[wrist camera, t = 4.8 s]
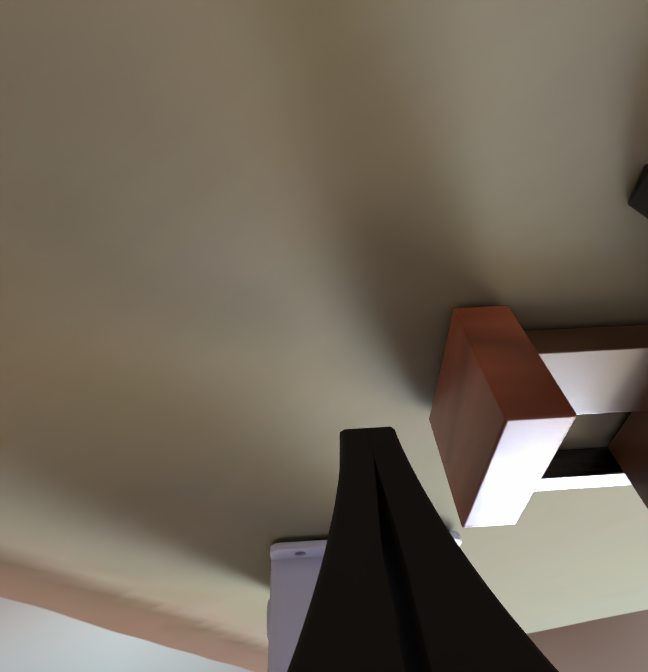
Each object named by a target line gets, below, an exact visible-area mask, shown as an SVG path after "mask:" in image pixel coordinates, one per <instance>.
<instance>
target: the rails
mask: <svg viewBox="0 0 648 672" xmlns="http://www.w3.org/2000/svg"><path fill="white" fill-rule="evenodd" d="M628 205H629V206H631V207H632V208H634V209H635V210H636V211H638V212H639V213H641V214H642V215H643V216H645V217H646V218H648V164H646V165H645V167H644V169H643V171H642V173H641V175H640V177H639V180H638V182H637V184H636V186H635V188H634V190H633V193H632V195H631V197H630V199H629V201H628ZM622 485H632V484H631V482H630V481H629V479H628V478H627V476H626V475H625V473H624V472H623V470H622V469H621V467H620V465H619V464H618V462H617V461H616V459H615V458H614V456H613V455H612V453H611V452H610V450H609V449H608V448H593V449H577V450H561V451H557V452H556V454H555V455H554V457H553V459H552V461H551V462H550V464H549V466H548V468H547V470H546V471H545V473H544V475H543V477H542V478H541V480H540V482H539V484H538V485H537V487H536V489H535V491H545V490H560V489H576V488H591V487H607V486H622Z"/></svg>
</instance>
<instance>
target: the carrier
mask: <svg viewBox="0 0 648 672" xmlns="http://www.w3.org/2000/svg"><path fill="white" fill-rule="evenodd" d="M616 412H632V413H631V414H630V416H629V417H628V419H627V420H626V421H625V423H624V424H623V426H622V427H621V429H620V430H619V432H618V433H617V434H616V436H615V437H614V439H613V440H612V442H611V443H610V445H609V446H608V449H609V450H610V452H611V453H612V455H613V456H614V458H615V459H616V461H617V462H618V464H619V465H620V467H621V469H622V470H623V472H624V473H625V475H626V476H627V478H628V479H629V481H630V482H631V484H632V485H633V487H634V488H635V490H636V491H637V493H638V495H639V496H640V498H641V499H642V501H643V502H644V504H645V505H646V507H647V508H648V325H631V326H612V327H593V328H574V329H554V330H535V331H524V330H523V329H522V327H521V325H520V324H519V322H518V321H517V319H516V317H515V316H514V314H513V313H512V311H511V310H510V308H509V307H508V306H489V307H468V308H455V309H454V310H453V314H452V319H451V323H450V328H449V332H448V337H447V341H446V346H445V350H444V355H443V359H442V364H441V368H440V373H439V377H438V382H437V386H436V391H435V395H434V400H433V404H432V409H431V413H430V418H429V420H430V423H431V427H432V430H433V433H434V437H435V440H436V443H437V446H438V450H439V453H440V456H441V460H442V463H443V466H444V469H445V473H446V476H447V479H448V483H449V486H450V489H451V492H452V496H453V499H454V502H455V506H456V509H457V512H458V516H459V519H460V522H461V525H462V527H464V528H465V527H480V526H495V525H510V524H516V522H517V520H518V519H519V517H520V515H521V513H522V512H523V510H524V508H525V506H526V505H527V503H528V501H529V499H530V498H531V496H532V494H533V492H534V491H535V489H536V487H537V485H538V484H539V482H540V480H541V478H542V477H543V475H544V473H545V471H546V470H547V468H548V466H549V464H550V462H551V461H552V459H553V457H554V455H555V454H556V452H557V450H558V448H559V447H560V445H561V443H562V441H563V440H564V438H565V436H566V434H567V433H568V431H569V429H570V427H571V426H572V424H573V422H574V420H575V419H576V417H577V415H582V414H599V413H616Z"/></svg>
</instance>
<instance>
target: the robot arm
mask: <svg viewBox="0 0 648 672" xmlns="http://www.w3.org/2000/svg"><path fill="white" fill-rule="evenodd" d="M460 543H461V538H460V535H459V533H457V532H455V531H449V530H448V529H447V527H446V526H445V524H444V523H443V521H442V519H441V518H440V516H439V515H438V513H437V511H436V510H435V508H434V506H433V504H432V503H431V501H430V499H429V498H428V496H427V494H426V493H425V491H424V489H423V487H422V486H421V484H420V482H419V480H418V478H417V476H416V475H415V473H414V471H413V469H412V467H411V465H410V463H409V461H408V459H407V457H406V455H405V453H404V451H403V449H402V446H401V444H400V442H399V439H398V437H397V435H396V432H395V430H394V429H393V428H392V427H378V428H361V429H345V430H343V431H341V432H340V471H339V481H338V487H337V494H336V500H335V506H334V512H333V517H332V521H331V526H330V530H329V535H328V539H327V540H313V541H298V542H283V543H275V544H273V545H272V546H271V547H270V557H271V581H270V599H269V600H268V605H267V637H268V640H269V643H268V672H559V671H558V670H557V669H556V668H555V667H554V666H553V665H552V664H551V663H550V661H548V659H547V658H546V657H545V656H544V655H543V653H542V652H541V651H540V650H539V649H538V647H536V645H535V644H534V643H533V642H532V641H531V639H530V638H529V637H528V636H527V634H526V633H525V632H524V631H523V630H522V628H521V627H520V626H519V625H518V624H517V622H516V621H515V620H514V619H513V618H512V616H511V615H510V614H509V613H508V612H507V610H506V609H505V608H504V607H503V605H502V604H501V603H500V601H499V600H498V599H497V598H496V596H495V595H494V594H493V592H492V591H491V590H490V589H489V587H488V586H487V585H486V583H485V582H484V581H483V579H482V578H481V577H480V575H479V574H478V572H477V571H476V570H475V568H474V567H473V566H472V564H471V563H470V561H469V560H468V559H467V557H466V556H465V554H464V553H463V551H462V550H461V548H460V547H459V546H460Z"/></svg>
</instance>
